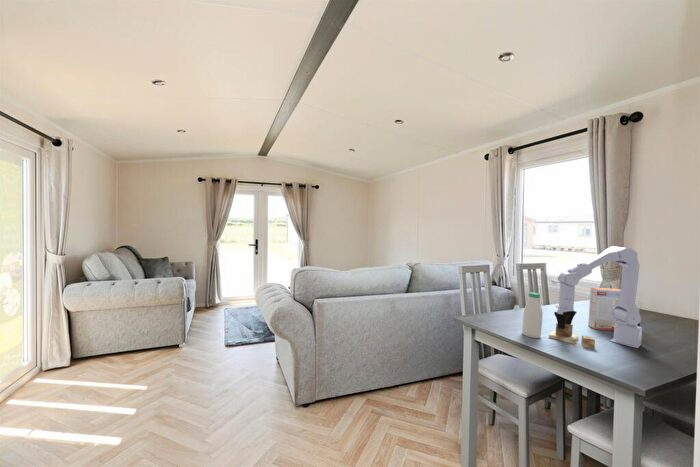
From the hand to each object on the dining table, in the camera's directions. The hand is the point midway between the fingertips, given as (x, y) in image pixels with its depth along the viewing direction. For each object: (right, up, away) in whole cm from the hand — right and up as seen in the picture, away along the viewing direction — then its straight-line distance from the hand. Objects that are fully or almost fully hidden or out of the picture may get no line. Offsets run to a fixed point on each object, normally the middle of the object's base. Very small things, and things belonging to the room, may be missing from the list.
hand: (564, 327), depth 150 cm
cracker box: (+33, -6, +18) cm, 38 cm away
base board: (0, -5, 0) cm, 5 cm away
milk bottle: (-14, -5, +2) cm, 15 cm away
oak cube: (+4, -6, -9) cm, 11 cm away
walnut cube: (0, -4, 0) cm, 4 cm away
